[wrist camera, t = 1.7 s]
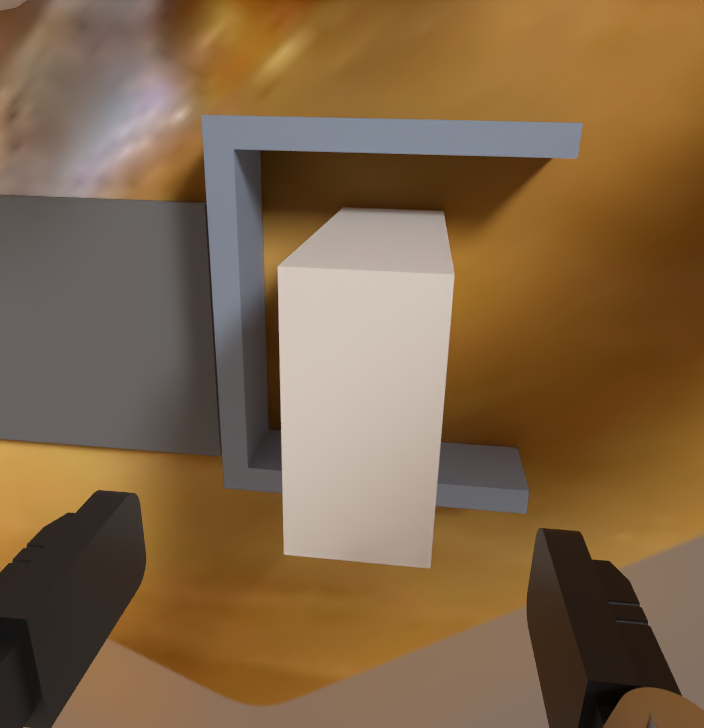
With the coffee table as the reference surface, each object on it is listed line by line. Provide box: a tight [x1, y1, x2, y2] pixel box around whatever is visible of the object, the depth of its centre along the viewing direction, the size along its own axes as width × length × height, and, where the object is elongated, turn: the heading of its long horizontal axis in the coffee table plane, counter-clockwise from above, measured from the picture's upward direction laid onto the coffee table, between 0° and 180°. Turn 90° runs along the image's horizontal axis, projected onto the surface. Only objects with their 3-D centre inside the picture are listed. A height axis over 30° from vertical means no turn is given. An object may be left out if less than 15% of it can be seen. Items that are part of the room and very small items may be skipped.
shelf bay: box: [201, 115, 583, 514], centre depth 27 cm, size 14×16×4 cm
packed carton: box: [278, 207, 454, 568], centre depth 23 cm, size 4×9×13 cm, turn 178°
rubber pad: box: [0, 195, 222, 456], centre depth 31 cm, size 13×13×1 cm
